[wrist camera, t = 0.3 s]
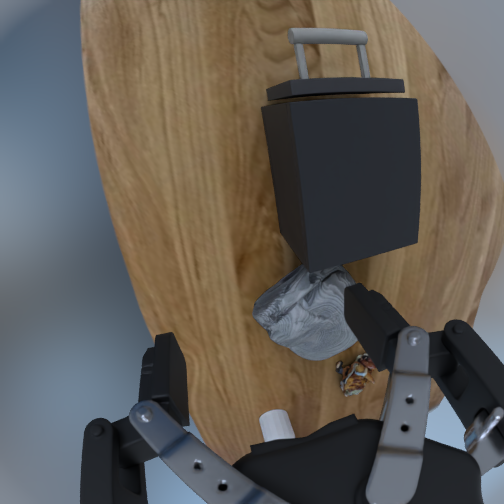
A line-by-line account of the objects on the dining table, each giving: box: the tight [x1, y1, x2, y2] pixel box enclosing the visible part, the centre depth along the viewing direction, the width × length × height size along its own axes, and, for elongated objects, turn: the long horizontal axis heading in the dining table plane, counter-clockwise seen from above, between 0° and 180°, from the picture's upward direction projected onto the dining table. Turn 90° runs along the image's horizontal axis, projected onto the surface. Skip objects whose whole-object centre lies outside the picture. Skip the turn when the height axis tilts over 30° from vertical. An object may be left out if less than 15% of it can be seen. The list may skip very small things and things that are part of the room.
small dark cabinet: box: [261, 98, 421, 273], centre depth 26 cm, size 14×12×9 cm
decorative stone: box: [252, 264, 358, 360], centre depth 33 cm, size 14×14×10 cm
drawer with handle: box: [266, 28, 405, 101], centre depth 23 cm, size 17×10×7 cm, turn 10°
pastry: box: [336, 353, 376, 396], centre depth 45 cm, size 7×12×4 cm, turn 19°
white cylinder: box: [259, 409, 295, 442], centre depth 45 cm, size 5×5×8 cm
